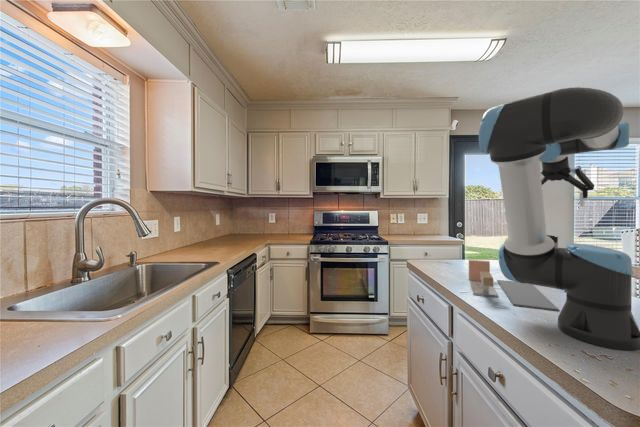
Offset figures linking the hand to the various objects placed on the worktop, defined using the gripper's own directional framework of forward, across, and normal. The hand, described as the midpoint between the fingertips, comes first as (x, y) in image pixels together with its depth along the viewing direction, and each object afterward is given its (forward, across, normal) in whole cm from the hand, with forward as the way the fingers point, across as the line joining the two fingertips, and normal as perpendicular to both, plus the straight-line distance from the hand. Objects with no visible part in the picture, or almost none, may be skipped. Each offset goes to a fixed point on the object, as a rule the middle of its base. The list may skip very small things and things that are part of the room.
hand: (559, 204), depth 107 cm
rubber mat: (+17, +6, +37) cm, 41 cm away
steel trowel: (+12, +16, +45) cm, 49 cm away
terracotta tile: (+21, +24, +32) cm, 45 cm away
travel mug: (+30, +4, +16) cm, 34 cm away
